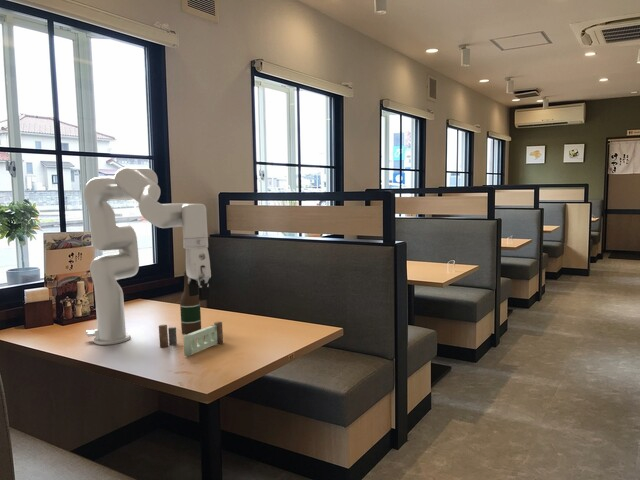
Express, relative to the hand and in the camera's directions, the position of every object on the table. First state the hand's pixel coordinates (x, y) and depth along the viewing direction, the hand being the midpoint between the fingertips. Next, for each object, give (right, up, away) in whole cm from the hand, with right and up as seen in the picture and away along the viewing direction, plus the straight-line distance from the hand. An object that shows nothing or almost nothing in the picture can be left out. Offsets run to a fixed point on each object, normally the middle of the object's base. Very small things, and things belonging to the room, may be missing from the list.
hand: (198, 297), depth 160 cm
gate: (-2, -19, +10) cm, 21 cm away
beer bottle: (-11, -17, +34) cm, 40 cm away
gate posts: (-7, -19, +18) cm, 27 cm away
